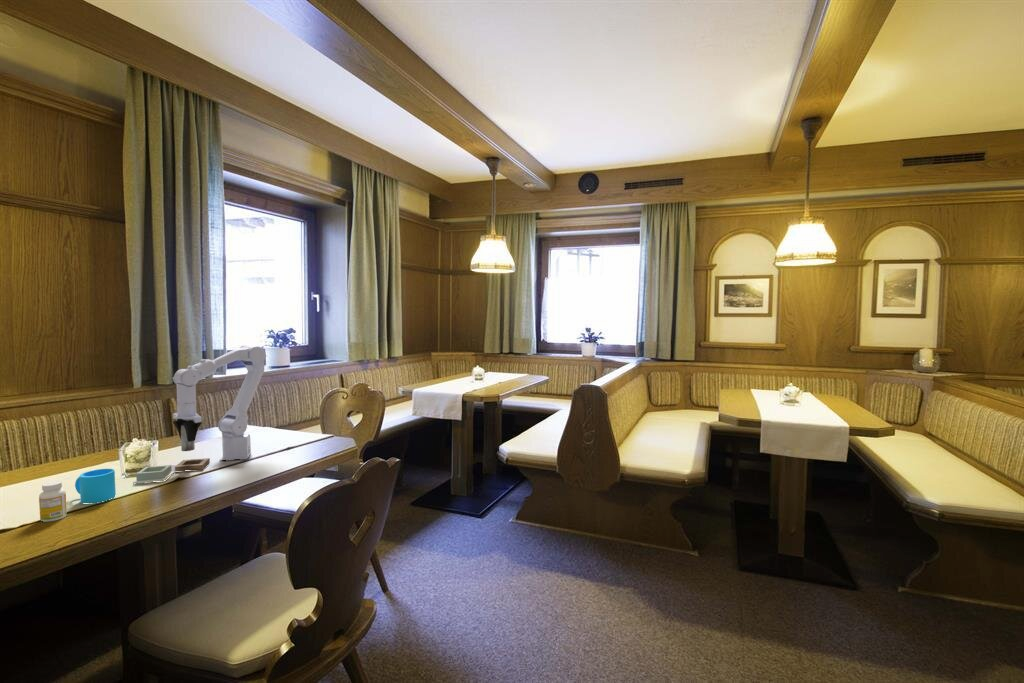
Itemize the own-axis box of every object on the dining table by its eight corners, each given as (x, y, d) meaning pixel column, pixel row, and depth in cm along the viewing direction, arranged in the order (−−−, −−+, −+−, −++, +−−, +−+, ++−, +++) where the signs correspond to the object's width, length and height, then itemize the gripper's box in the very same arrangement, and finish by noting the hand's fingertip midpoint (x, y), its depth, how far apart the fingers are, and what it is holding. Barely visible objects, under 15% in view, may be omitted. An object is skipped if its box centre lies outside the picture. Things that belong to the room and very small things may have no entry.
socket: (209, 463, 187) (209, 458, 187) (202, 470, 179) (202, 464, 179) (183, 465, 185) (183, 460, 184) (174, 472, 176) (174, 466, 176)
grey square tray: (174, 473, 175) (174, 464, 175) (164, 481, 167) (164, 472, 166) (144, 475, 173) (144, 466, 173) (133, 484, 164) (132, 474, 164)
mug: (122, 495, 154) (121, 469, 154) (96, 505, 146) (95, 478, 146) (90, 492, 156) (89, 467, 156) (62, 502, 148) (61, 475, 148)
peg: (196, 447, 182) (195, 423, 182) (192, 450, 179) (191, 425, 178) (183, 448, 181) (182, 424, 181) (179, 451, 177) (179, 426, 177)
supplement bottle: (51, 514, 140) (49, 480, 139) (72, 513, 140) (70, 479, 139) (34, 522, 134) (32, 487, 134) (56, 522, 135) (54, 486, 134)
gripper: (163, 402, 179) (164, 440, 180) (186, 406, 172) (187, 445, 173) (184, 399, 185) (185, 436, 186) (207, 403, 178) (208, 440, 179)
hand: (187, 440), depth 180 cm, fingers closed on peg, 4 cm apart
